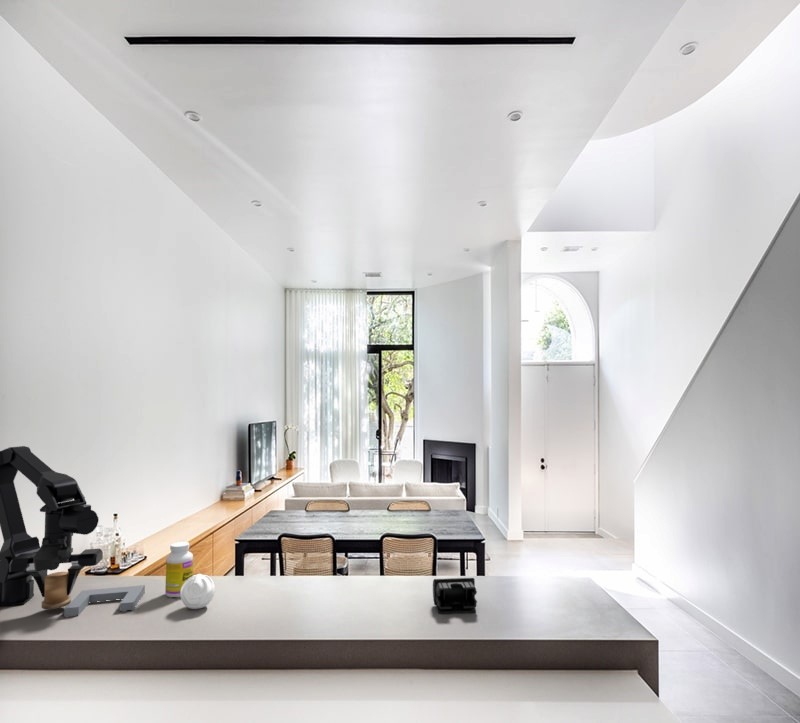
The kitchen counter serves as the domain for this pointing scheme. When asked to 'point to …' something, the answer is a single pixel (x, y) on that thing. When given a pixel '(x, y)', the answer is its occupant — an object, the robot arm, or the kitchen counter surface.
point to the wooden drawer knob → (56, 591)
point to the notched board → (106, 598)
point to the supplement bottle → (178, 568)
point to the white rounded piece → (197, 591)
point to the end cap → (454, 595)
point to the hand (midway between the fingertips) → (56, 595)
